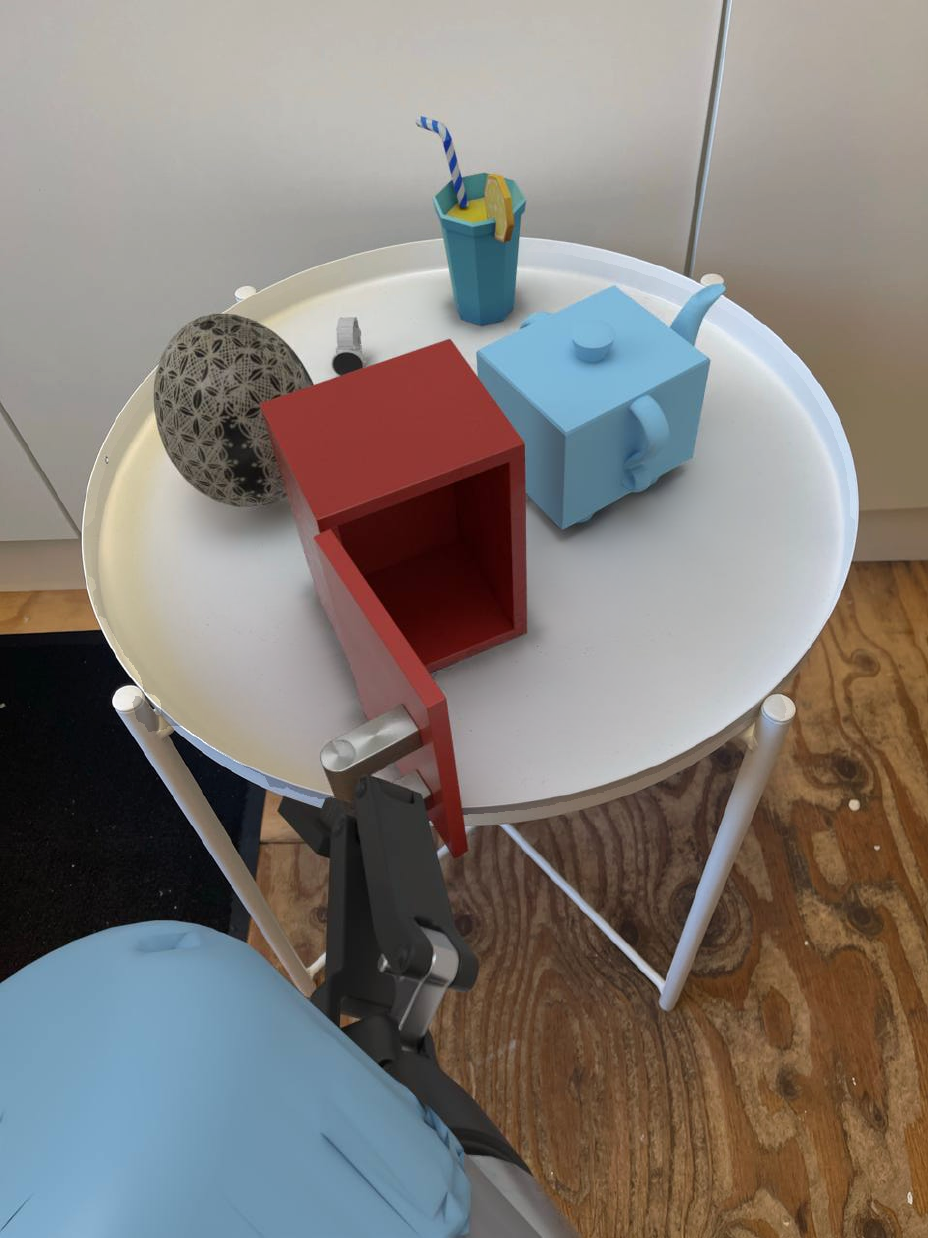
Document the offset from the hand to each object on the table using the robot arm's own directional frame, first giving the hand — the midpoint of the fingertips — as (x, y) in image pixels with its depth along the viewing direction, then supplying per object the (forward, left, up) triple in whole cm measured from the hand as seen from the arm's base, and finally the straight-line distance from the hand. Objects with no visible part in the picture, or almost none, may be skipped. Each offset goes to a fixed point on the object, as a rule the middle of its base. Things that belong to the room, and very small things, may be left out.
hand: (247, 954), depth 43 cm
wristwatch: (-10, +52, -12) cm, 54 cm away
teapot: (+13, +45, -12) cm, 48 cm away
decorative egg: (-14, +38, -12) cm, 42 cm away
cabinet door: (+1, +13, -11) cm, 18 cm away
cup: (-1, +63, -12) cm, 64 cm away
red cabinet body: (+1, +28, -11) cm, 30 cm away
